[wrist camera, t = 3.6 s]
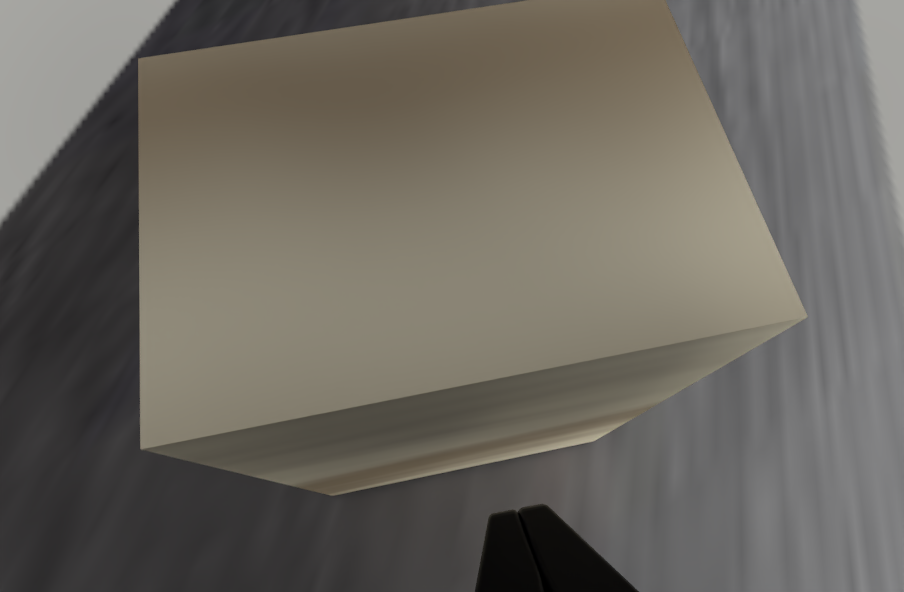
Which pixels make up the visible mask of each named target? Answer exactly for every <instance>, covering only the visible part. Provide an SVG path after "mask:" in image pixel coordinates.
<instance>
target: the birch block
mask: <svg viewBox="0 0 904 592" xmlns="http://www.w3.org/2000/svg"><path fill="white" fill-rule="evenodd" d="M138 112H139V298H140V450H145V451H149V452H153V453H157V454H161V455H165V456H169V457H174V458H178V459H182V460H186V461H190V462H194V463H198V464H202V465H207V466H211V467H215V468H219V469H223V470H227V471H231V472H236V473H240V474H244V475H248V476H252V477H256V478H260V479H265V480H269V481H273V482H277V483H281V484H285V485H289V486H294V487H298V488H302V489H306V490H310V491H314V492H318V493H323V494H327V495H331V496H335V495H340V494H344V493H349V492H354V491H359V490H363V489H368V488H373V487H378V486H383V485H387V484H392V483H397V482H402V481H406V480H411V479H416V478H421V477H426V476H430V475H435V474H440V473H445V472H449V471H454V470H459V469H464V468H469V467H473V466H478V465H483V464H488V463H492V462H497V461H502V460H507V459H512V458H516V457H521V456H526V455H531V454H535V453H540V452H545V451H550V450H555V449H559V448H564V447H569V446H574V445H578V444H583V443H588V442H593V441H595V440H597V439H598V438H600V437H602V436H604V435H605V434H607V433H609V432H611V431H612V430H614V429H616V428H617V427H619V426H621V425H623V424H624V423H626V422H628V421H629V420H631V419H633V418H635V417H636V416H638V415H640V414H642V413H643V412H645V411H647V410H648V409H650V408H652V407H654V406H655V405H657V404H659V403H661V402H662V401H664V400H666V399H667V398H669V397H671V396H673V395H674V394H676V393H678V392H679V391H681V390H683V389H685V388H686V387H688V386H690V385H692V384H693V383H695V382H697V381H698V380H700V379H702V378H704V377H705V376H707V375H709V374H711V373H712V372H714V371H716V370H717V369H719V368H721V367H723V366H724V365H726V364H728V363H729V362H731V361H733V360H735V359H736V358H738V357H740V356H742V355H743V354H745V353H747V352H748V351H750V350H752V349H754V348H755V347H757V346H759V345H761V344H762V343H764V342H766V341H767V340H769V339H771V338H773V337H774V336H776V335H778V334H779V333H781V332H783V331H785V330H786V329H788V328H790V327H792V326H793V325H795V324H797V323H798V322H800V321H802V320H804V319H805V318H807V317H808V316H807V314H806V312H805V310H804V307H803V305H802V303H801V301H800V298H799V296H798V294H797V292H796V290H795V287H794V285H793V283H792V281H791V278H790V276H789V274H788V272H787V270H786V267H785V265H784V263H783V261H782V258H781V256H780V254H779V252H778V250H777V247H776V245H775V243H774V241H773V238H772V236H771V234H770V232H769V230H768V227H767V225H766V223H765V221H764V218H763V216H762V214H761V212H760V210H759V207H758V205H757V203H756V201H755V198H754V196H753V194H752V192H751V190H750V187H749V185H748V183H747V181H746V178H745V176H744V174H743V172H742V170H741V167H740V165H739V163H738V161H737V158H736V156H735V154H734V152H733V150H732V147H731V145H730V143H729V141H728V138H727V136H726V134H725V132H724V130H723V127H722V125H721V123H720V121H719V118H718V116H717V114H716V112H715V110H714V107H713V105H712V103H711V101H710V98H709V96H708V94H707V92H706V90H705V87H704V85H703V83H702V81H701V78H700V76H699V74H698V72H697V70H696V67H695V65H694V63H693V61H692V58H691V56H690V54H689V52H688V50H687V47H686V45H685V43H684V41H683V38H682V36H681V34H680V32H679V30H678V27H677V25H676V23H675V21H674V18H673V16H672V14H671V12H670V10H669V7H668V5H667V3H666V1H665V0H527V1H520V2H514V3H507V4H500V5H494V6H487V7H480V8H473V9H467V10H460V11H453V12H447V13H440V14H433V15H427V16H420V17H413V18H406V19H400V20H393V21H386V22H380V23H373V24H366V25H359V26H353V27H346V28H339V29H333V30H326V31H319V32H313V33H306V34H299V35H292V36H286V37H279V38H272V39H266V40H259V41H252V42H246V43H239V44H232V45H225V46H219V47H212V48H205V49H199V50H192V51H185V52H179V53H172V54H165V55H158V56H152V57H145V58H138Z"/></svg>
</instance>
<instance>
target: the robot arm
mask: <svg viewBox="0 0 904 592" xmlns="http://www.w3.org/2000/svg"><path fill="white" fill-rule="evenodd" d="M475 592H639V591H638V590H637V589H635V588H634V587H633V586H632V585H631V584H630V583H629V582H628V581H627V580H626V579H625V578H624V577H623V576H622V575H621V574H620V573H618V572H617V571H616V570H615V569H614V568H613V567H612V566H611V565H610V564H609V563H608V562H607V561H606V560H605V559H604V558H603V557H601V556H600V555H599V554H598V553H597V552H596V551H595V550H594V549H593V548H592V547H591V546H590V545H589V544H588V543H587V542H585V541H584V540H583V539H582V538H581V537H580V536H579V535H578V534H577V533H576V532H575V531H574V530H573V529H572V528H571V527H570V526H568V525H567V524H566V523H565V522H564V521H563V520H562V519H561V518H560V517H559V516H558V515H557V514H556V513H555V512H554V511H553V510H551V509H550V508H549V507H548V506H547V505H545V504H538V505H533V506H528V507H523V508H521V509H520V510H519V511H518V512H517V511H516V510H508V511H503V512H498V513H493V514H491V515H490V517H489V519H488V524H487V529H486V535H485V540H484V546H483V551H482V556H481V562H480V567H479V573H478V578H477V583H476V589H475Z"/></svg>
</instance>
